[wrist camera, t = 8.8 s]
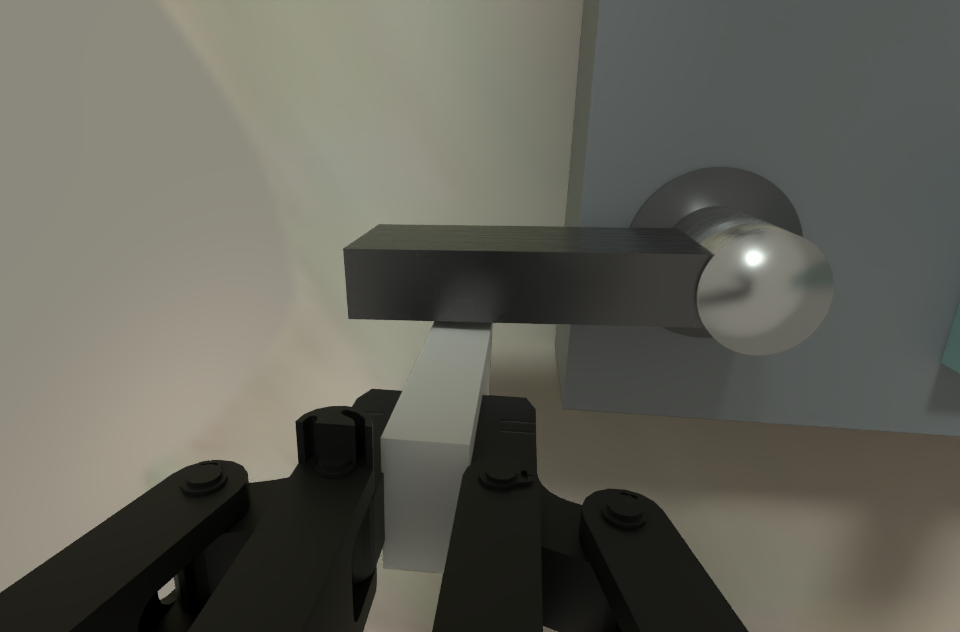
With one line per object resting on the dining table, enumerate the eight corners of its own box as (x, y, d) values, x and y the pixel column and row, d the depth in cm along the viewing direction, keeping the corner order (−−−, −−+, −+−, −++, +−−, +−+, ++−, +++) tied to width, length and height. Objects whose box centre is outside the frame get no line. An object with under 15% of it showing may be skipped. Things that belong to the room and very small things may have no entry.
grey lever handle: (771, 206, 17) (845, 232, 13) (756, 305, 18) (820, 357, 14) (381, 202, 18) (339, 225, 14) (386, 297, 19) (347, 344, 15)
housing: (585, -20, 21) (607, -74, 15) (1247, -4, 20) (1552, -57, 14) (555, 345, 25) (563, 411, 20) (1093, 378, 24) (1275, 461, 18)
